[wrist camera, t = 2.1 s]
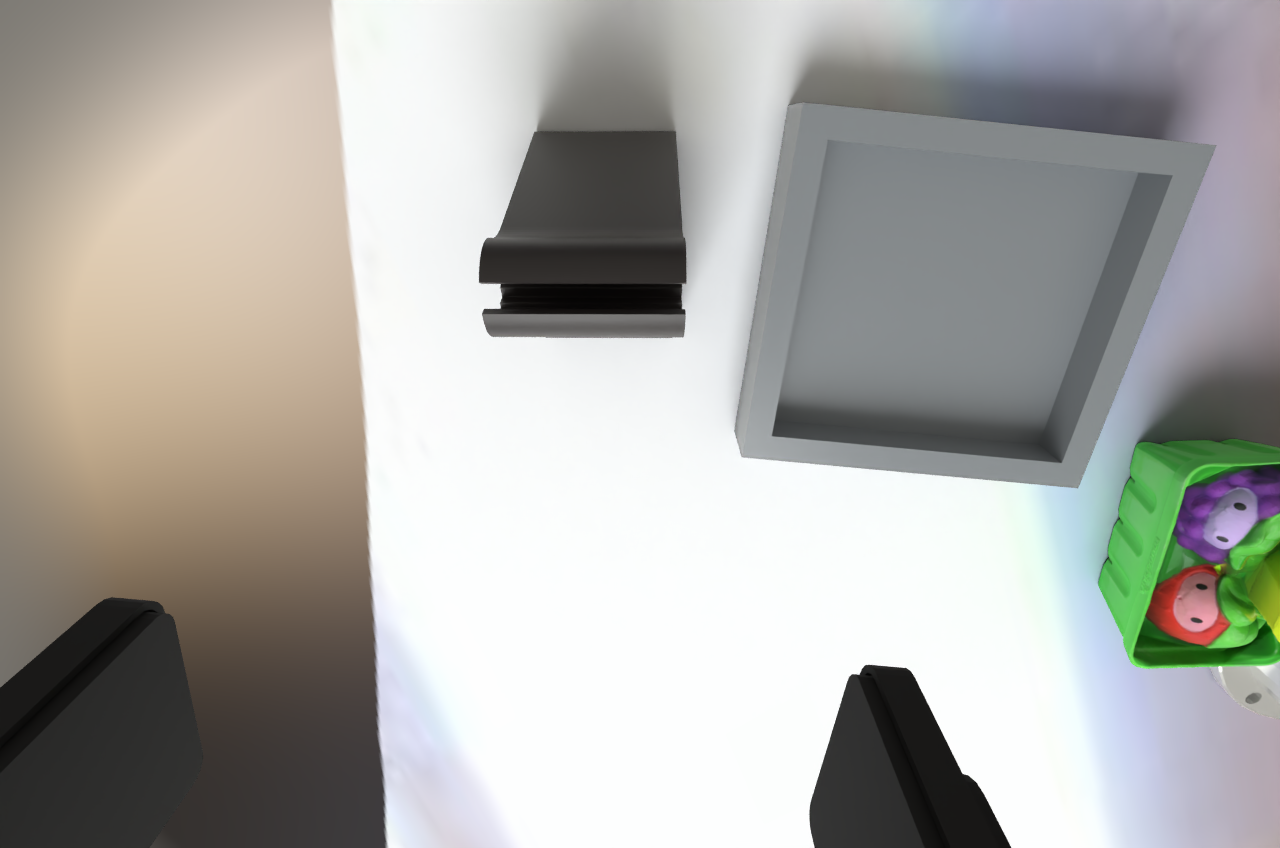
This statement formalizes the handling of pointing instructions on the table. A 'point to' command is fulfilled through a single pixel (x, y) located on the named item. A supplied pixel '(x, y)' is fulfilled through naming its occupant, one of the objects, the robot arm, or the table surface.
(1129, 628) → the fruit basket
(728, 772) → the table surface
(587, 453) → the table surface
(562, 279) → the phone stand
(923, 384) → the tray
